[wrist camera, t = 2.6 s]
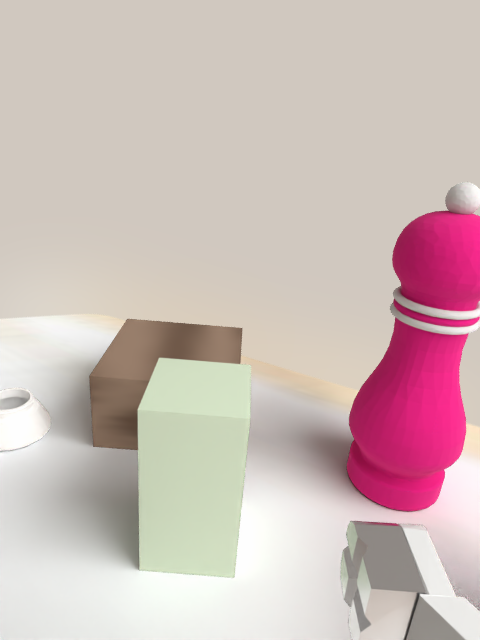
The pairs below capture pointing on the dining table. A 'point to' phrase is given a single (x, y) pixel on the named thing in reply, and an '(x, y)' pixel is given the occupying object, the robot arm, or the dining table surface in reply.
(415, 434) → the pepper mill
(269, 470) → the dining table surface
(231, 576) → the sage block
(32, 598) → the dining table surface
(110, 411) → the walnut block
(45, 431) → the white hollow cone
